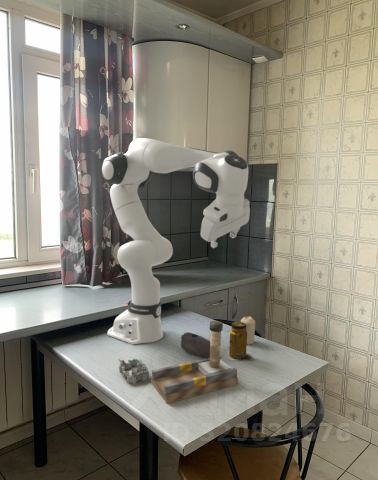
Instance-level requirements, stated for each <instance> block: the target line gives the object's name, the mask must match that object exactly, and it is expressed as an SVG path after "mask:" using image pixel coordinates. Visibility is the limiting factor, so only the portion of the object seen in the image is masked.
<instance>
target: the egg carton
mask: <svg viewBox="0 0 378 480" xmlns="http://www.w3.org/2000/svg"><path fill="white" fill-rule="evenodd" d="M117 360H118V362H119V363H120V364H119V366H118V371H119V373H120V374H122V377H123V378H124V379H125V378H126V382H127V383H129V384H136V383H137V381H139V380H140V381H147V379H148V378H149V370H150V368H149V367H148V366H147V365H146V364H145V362H144V361H143V360H142V358H140V357H137V358H133V359H128V360H127V361H125V360H124V359H120V358H119V359H117ZM126 370H127V371H126Z"/></svg>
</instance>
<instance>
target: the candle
mask: <svg viewBox="0 0 378 480" xmlns="http://www.w3.org/2000/svg"><path fill="white" fill-rule="evenodd" d="M240 322H243V323H245V324H246V329H247V330H246V331H247V345H252V344H254V343H255V331H256V320H255V319H254V318H253V317H252V316H250V315H249V316H246V315H245V316H243V317H242V318H241V319H240Z"/></svg>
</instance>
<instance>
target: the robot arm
mask: <svg viewBox="0 0 378 480" xmlns="http://www.w3.org/2000/svg"><path fill="white" fill-rule="evenodd" d="M187 168H193V170H192V178H193V182H194V184H195V186H197V188H199V189H201V191H204V192H208V193H212V194H216V196H215V199H214V200H213V201H212V202H211V203H210V204H209V205H208V206H207V207H205V208H204V209H203V212H202V214H203V216H204V217H203V219H202V221H201V226H200V237H201V238H202V239H203V240H204V241H206V242H208V243H210V247H211V248H212V249H215V248H217V247H218V244H219V243H218V242H217V239H218V238H220V237H223V236H225V235H226V234H228V233H229V237H230V238H231V239H235V238H237V235H238V234H237V233H239V231H240V229H241V227H243V226H245V225H247V224H248V222H249V221H250V213H251V209H250V202H251V201H250V200H249V199H248V198H245V193H246V190H247V187H248V182H249V181H248V180H249V165H248V162H247V161H246V160H245V158H243V157H241V156H239V155H238V154H237V153H236V152H235V151H233V150H230V149H228V150H223V151H221V152H218V151H217V152H215V151H211V150H206V149H205V150H204V149H200V148H194V147H187V146H184V145H177V144H173V143H170V142H169V143H168V142H165V141H162V140H158V139H154V138H148V137H147V138H146V137H145V138H144V137H139V138H136V139H134V140H132V141H131V142H130V144H129V146H128V150H127V152H126V153H122V152H117V153H115V154H113V155H110V156H108V157H106V158H105V159H104V160H103V162H102V165H101V171H100V172H101V176H102V178H103V179H104V181H105V182H106V183H108V184H111V187H110V189H109V195H110V201H111V204H112V205H111V206H112V209H113V210H114V213H115V214H114V215H115V216H116V218H117V222H118V224H119V227H120V229H121V231H122V232H123V233H124V234H126V235H128V236H129V237H130V238H132V239H133V240H131V241H128V242H126V243H124V244H122V245H121V246H119V248H118V249H117V255H116V256H117V257H116V258H117V262H118V263H119V265H120V267H121V268H122V269H124V270H125V271H126V272H127V274H128V276H129V277H128V278H129V280H130V285H131V300H129V301H128V302H126V303H125V307H127V309H126V310H124V311H123V312H121V313H120V314H119V315H118V316H116V317H115V319H114V322H113V325H112V327H110V328H109V329H108V330H107V336H109V337H112V338H114V339H118V340H120V341H123V342H125V343H129V344H132V345H139V344H144V343H153V342H157V341H159V340H161V339H163V337H164V332H163V327H162V323H161V320H162V319H161V315H162V301H161V282H160V280H159V279H158V278H157V277H155V276H154V273H153V270H152V269H153V267H155V266H158V265H159V266H160V265H162V264H164V263H165V262H167V261H169V260H170V259H171V257H172V256H173V254H174V249H173V246H172V243H171V241H170V240H169V239H167V238H166V237H164V236H162V235H161V234H160V233H159V231H157V230H156V228H155V226H153V224H152V223H151V221H150V220H149V217H148V216H147V213H146V211H145V208H144V206H143V203H142V201H141V199H140V197H139V194H138V188H141V189H142V188H144V187H145V186H146V184H147V183H148V182H150V181H151V180H152V178H153V177H154V175H155V174H156V173H157V174H169V173H172V172H175V171H179V170H182V169H187Z"/></svg>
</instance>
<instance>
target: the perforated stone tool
mask: <svg viewBox="0 0 378 480" xmlns="http://www.w3.org/2000/svg"><path fill="white" fill-rule="evenodd" d="M180 347H181V349H182V350H184V351H185V352H187V353H189V354H191V355H194V356H197V357H200V358H203V359H206V358H210V340H209V339H207V338H205V337H203V336H201V335H198V334H196V333H192V332H184V333H183V334H182V335H181V338H180Z"/></svg>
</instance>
